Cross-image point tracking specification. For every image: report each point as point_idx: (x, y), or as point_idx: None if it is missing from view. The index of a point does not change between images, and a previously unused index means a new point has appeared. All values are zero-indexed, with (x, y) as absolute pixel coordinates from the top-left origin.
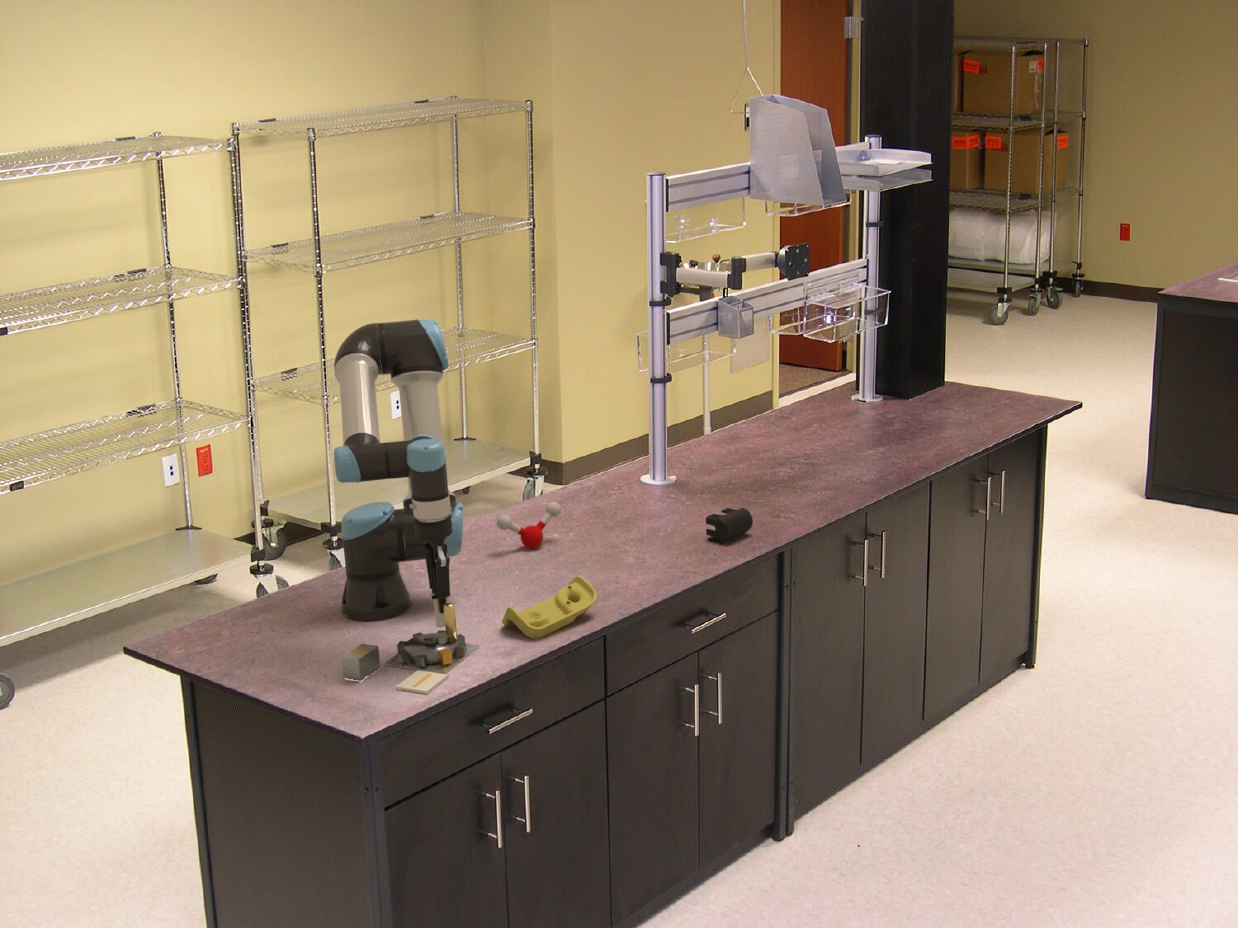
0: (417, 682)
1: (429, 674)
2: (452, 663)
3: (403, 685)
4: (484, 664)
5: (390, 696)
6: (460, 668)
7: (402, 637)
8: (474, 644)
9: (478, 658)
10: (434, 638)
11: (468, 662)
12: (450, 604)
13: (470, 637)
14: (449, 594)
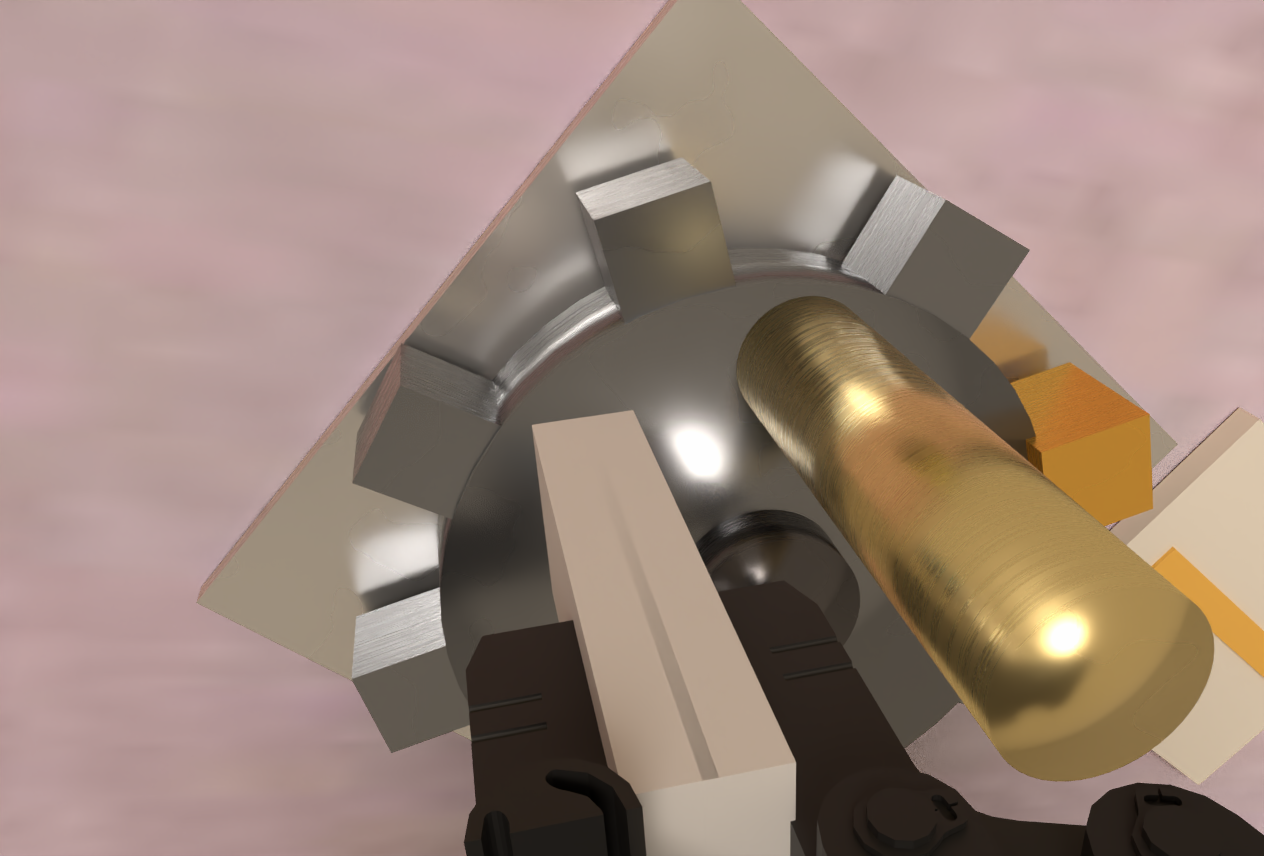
0: (1246, 655)
1: (1166, 567)
2: (1040, 353)
3: (1214, 740)
4: (1183, 12)
5: (1258, 795)
6: (1125, 279)
7: (97, 751)
8: (657, 26)
9: (1001, 48)
10: (777, 580)
11: (1039, 178)
12: (1113, 658)
13: (312, 17)
14: (1252, 841)
